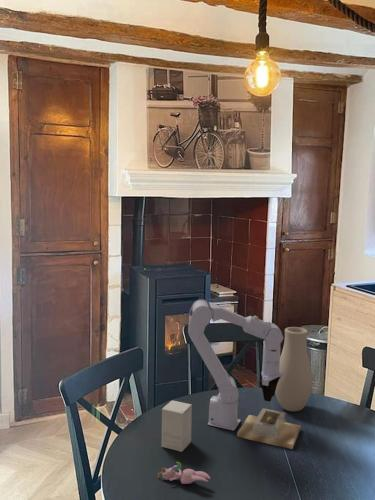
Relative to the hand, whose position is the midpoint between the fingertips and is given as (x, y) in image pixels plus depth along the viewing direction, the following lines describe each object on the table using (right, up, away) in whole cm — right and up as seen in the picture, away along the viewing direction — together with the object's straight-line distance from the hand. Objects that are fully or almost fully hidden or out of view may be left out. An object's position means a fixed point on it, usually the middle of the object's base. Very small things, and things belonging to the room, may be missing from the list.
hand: (269, 398), depth 174 cm
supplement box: (-32, -11, -14) cm, 36 cm away
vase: (+11, -8, +14) cm, 19 cm away
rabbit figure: (-29, -14, -34) cm, 47 cm away
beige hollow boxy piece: (-1, -9, -5) cm, 10 cm away
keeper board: (-1, -10, -5) cm, 11 cm away
